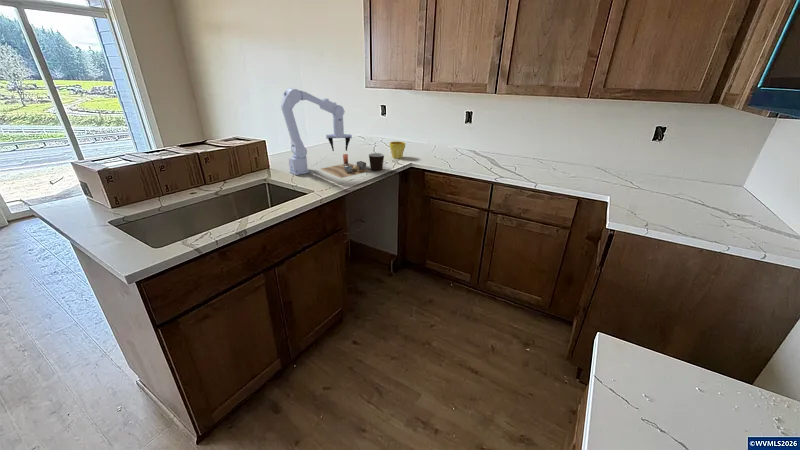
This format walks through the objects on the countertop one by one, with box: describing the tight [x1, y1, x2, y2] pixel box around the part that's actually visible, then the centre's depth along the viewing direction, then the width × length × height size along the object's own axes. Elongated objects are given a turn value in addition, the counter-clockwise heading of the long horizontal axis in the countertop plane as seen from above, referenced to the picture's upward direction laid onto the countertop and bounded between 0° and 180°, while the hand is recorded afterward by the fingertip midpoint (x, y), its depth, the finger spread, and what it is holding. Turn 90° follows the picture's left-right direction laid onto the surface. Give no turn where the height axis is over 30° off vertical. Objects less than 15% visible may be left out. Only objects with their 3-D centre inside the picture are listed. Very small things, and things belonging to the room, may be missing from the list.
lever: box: [342, 153, 352, 173], centre depth 191 cm, size 18×4×6 cm, turn 14°
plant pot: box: [389, 141, 406, 159], centre depth 223 cm, size 10×10×10 cm
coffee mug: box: [368, 152, 385, 172], centre depth 192 cm, size 12×9×10 cm
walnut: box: [353, 164, 360, 171], centre depth 187 cm, size 4×4×4 cm
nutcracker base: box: [320, 160, 371, 179], centre depth 189 cm, size 20×22×6 cm
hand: (339, 150), depth 197 cm, fingers open, 7 cm apart
